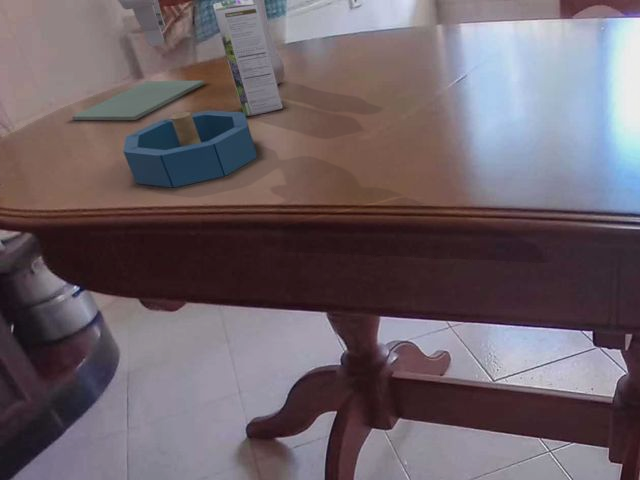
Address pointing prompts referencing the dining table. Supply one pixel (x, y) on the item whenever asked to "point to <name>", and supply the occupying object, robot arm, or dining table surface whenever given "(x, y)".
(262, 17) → the plastic bottle
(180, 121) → the dowel stand
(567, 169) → the dining table surface
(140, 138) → the blue ring
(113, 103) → the rubber mat
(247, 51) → the syrup box
